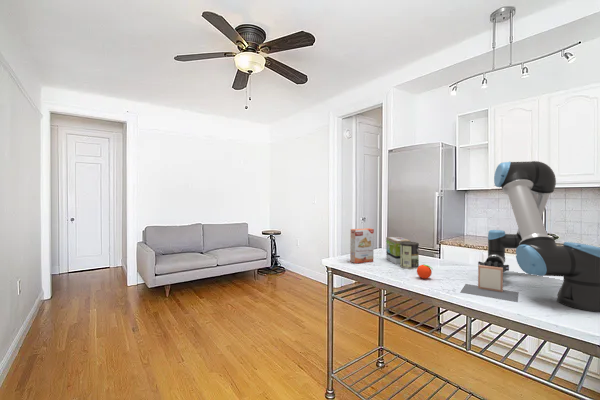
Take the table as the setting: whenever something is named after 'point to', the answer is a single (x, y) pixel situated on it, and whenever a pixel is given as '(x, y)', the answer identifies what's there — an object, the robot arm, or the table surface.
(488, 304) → the table surface
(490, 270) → the tile
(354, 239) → the cracker box
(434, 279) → the table surface
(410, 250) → the coffee can
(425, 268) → the clementine
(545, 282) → the table surface
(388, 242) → the tea box
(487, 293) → the mat
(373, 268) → the table surface
